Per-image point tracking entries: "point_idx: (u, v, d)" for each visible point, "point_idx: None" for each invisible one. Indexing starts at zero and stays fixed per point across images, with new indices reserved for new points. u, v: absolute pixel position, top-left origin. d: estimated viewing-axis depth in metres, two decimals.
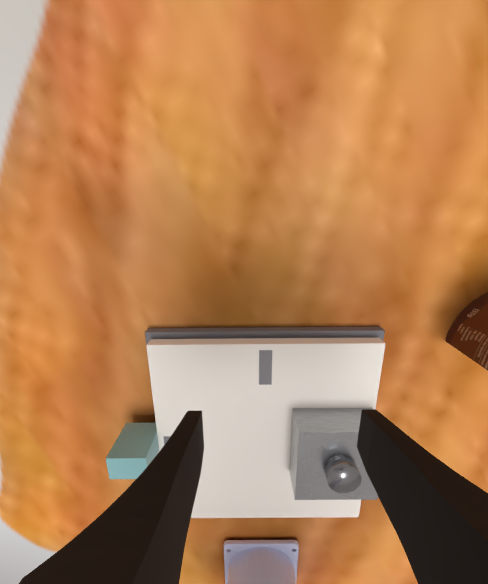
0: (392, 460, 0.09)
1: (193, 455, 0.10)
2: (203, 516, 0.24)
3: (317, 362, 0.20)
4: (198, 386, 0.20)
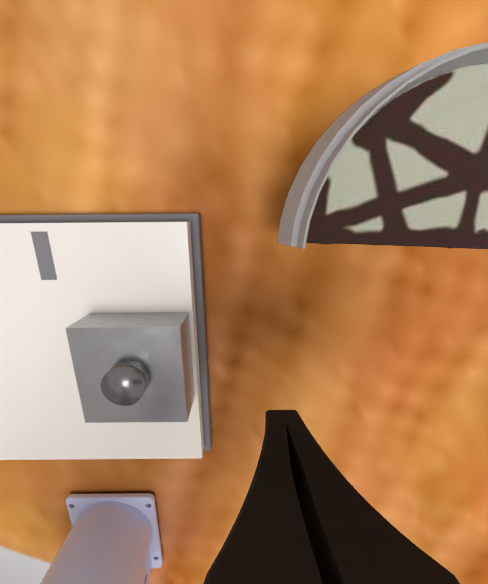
0: (293, 461, 0.09)
1: None
2: (16, 457, 0.20)
3: (107, 249, 0.16)
4: None
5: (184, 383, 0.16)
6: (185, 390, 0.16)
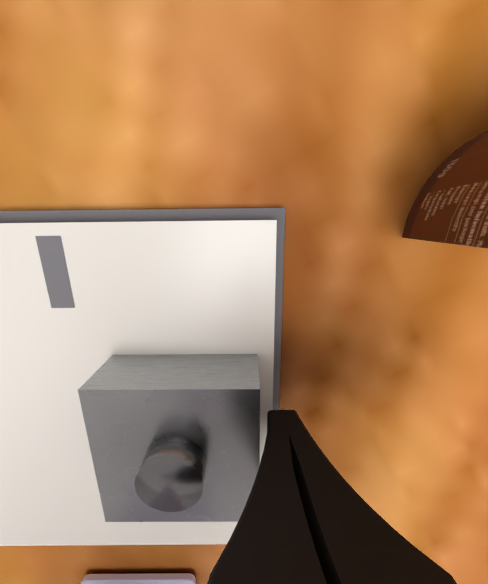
0: (292, 461, 0.09)
1: None
2: (16, 542, 0.15)
3: (151, 262, 0.10)
4: None
5: (258, 468, 0.10)
6: None
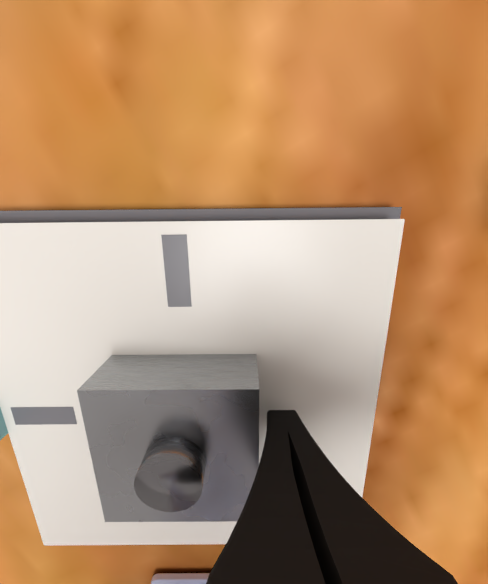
0: (292, 461, 0.09)
1: None
2: (101, 541, 0.15)
3: (274, 261, 0.10)
4: (57, 311, 0.11)
5: None
6: None
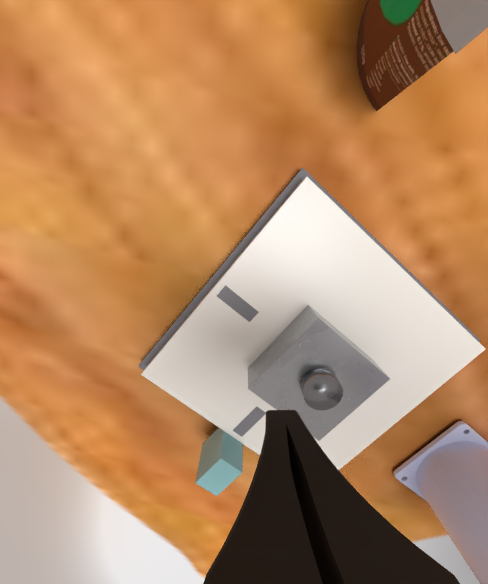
0: (293, 461, 0.09)
1: None
2: (338, 466, 0.22)
3: (271, 256, 0.17)
4: (209, 368, 0.19)
5: (360, 353, 0.16)
6: (365, 357, 0.16)
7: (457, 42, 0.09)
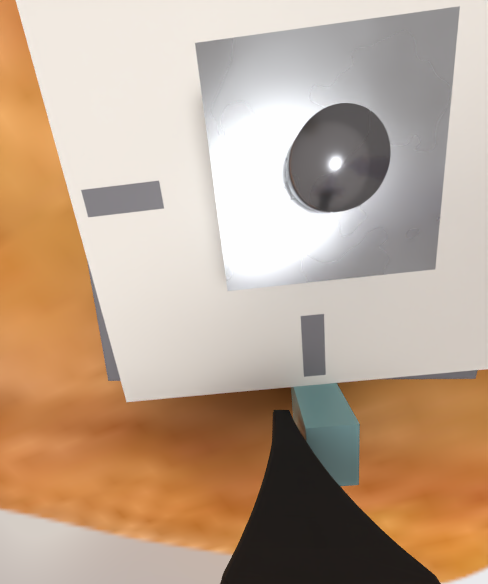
0: None
1: None
2: None
3: (83, 77, 0.09)
4: (188, 322, 0.11)
5: (344, 25, 0.06)
6: None
7: None
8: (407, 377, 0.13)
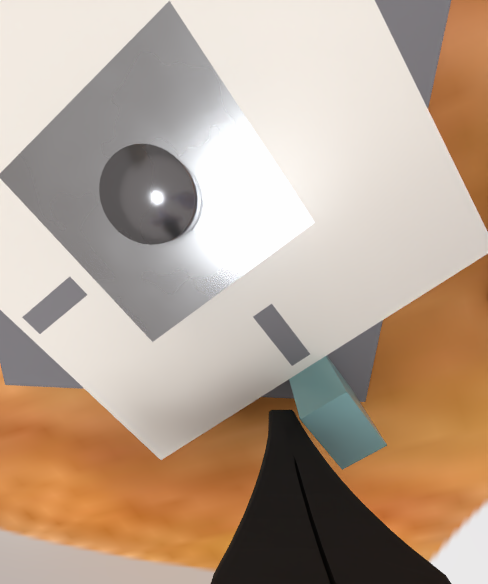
0: None
1: None
2: (453, 179, 0.10)
3: None
4: (165, 372, 0.12)
5: (92, 83, 0.07)
6: (108, 70, 0.07)
7: None
8: None
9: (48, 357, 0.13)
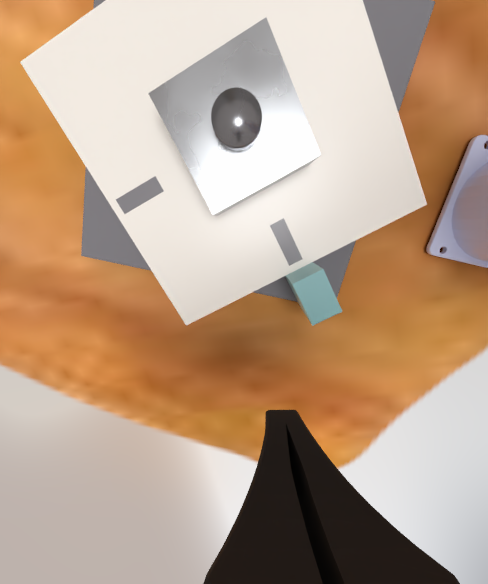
0: (293, 461, 0.09)
1: None
2: (406, 154, 0.16)
3: (96, 136, 0.15)
4: (203, 256, 0.17)
5: (214, 52, 0.12)
6: (224, 46, 0.12)
7: None
8: (289, 298, 0.19)
9: (118, 239, 0.18)
